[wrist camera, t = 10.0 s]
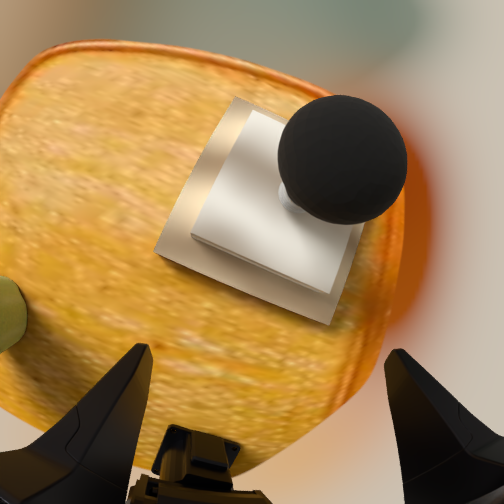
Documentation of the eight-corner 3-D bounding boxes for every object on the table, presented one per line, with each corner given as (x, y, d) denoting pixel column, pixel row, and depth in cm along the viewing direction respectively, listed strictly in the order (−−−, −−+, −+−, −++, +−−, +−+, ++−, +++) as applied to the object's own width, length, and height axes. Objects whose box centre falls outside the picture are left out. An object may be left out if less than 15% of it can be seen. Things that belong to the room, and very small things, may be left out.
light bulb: (325, 161, 19) (413, 89, 9) (334, 240, 19) (445, 213, 9) (246, 156, 18) (295, 56, 8) (251, 243, 18) (318, 207, 8)
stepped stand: (318, 321, 22) (341, 330, 18) (157, 253, 20) (148, 249, 16) (366, 178, 24) (391, 165, 20) (232, 108, 22) (239, 82, 18)
